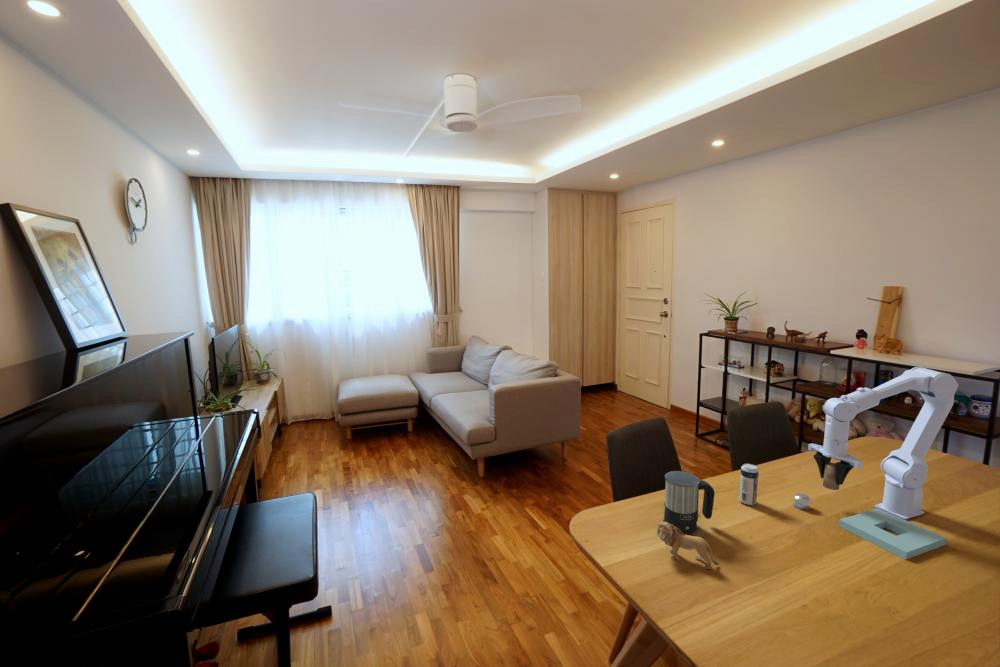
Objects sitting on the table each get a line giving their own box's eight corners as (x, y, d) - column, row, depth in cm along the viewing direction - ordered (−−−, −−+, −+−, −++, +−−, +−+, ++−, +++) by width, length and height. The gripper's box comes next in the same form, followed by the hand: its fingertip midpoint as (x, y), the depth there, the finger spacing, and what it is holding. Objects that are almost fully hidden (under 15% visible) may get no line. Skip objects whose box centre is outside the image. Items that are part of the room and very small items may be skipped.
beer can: (758, 507, 137) (761, 470, 135) (741, 505, 138) (744, 469, 136) (752, 499, 142) (755, 463, 140) (736, 497, 143) (739, 462, 141)
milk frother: (678, 539, 121) (681, 488, 119) (640, 510, 136) (642, 464, 134) (717, 528, 126) (721, 479, 124) (677, 501, 141) (680, 457, 139)
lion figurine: (655, 559, 113) (657, 526, 111) (656, 547, 118) (657, 515, 116) (719, 572, 108) (721, 538, 106) (717, 559, 113) (719, 526, 111)
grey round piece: (799, 502, 140) (800, 492, 139) (811, 509, 136) (812, 498, 135) (790, 505, 138) (791, 494, 138) (802, 511, 134) (803, 500, 134)
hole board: (876, 514, 133) (877, 508, 132) (945, 544, 118) (946, 538, 117) (838, 525, 127) (839, 519, 126) (905, 559, 112) (906, 552, 112)
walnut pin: (828, 482, 139) (830, 461, 138) (842, 488, 135) (844, 466, 134) (819, 484, 137) (821, 463, 136) (833, 490, 133) (835, 468, 132)
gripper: (803, 431, 139) (799, 472, 141) (853, 449, 126) (848, 494, 128) (818, 429, 142) (814, 469, 144) (869, 445, 128) (864, 489, 130)
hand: (831, 480), depth 136 cm, fingers closed on walnut pin, 4 cm apart
